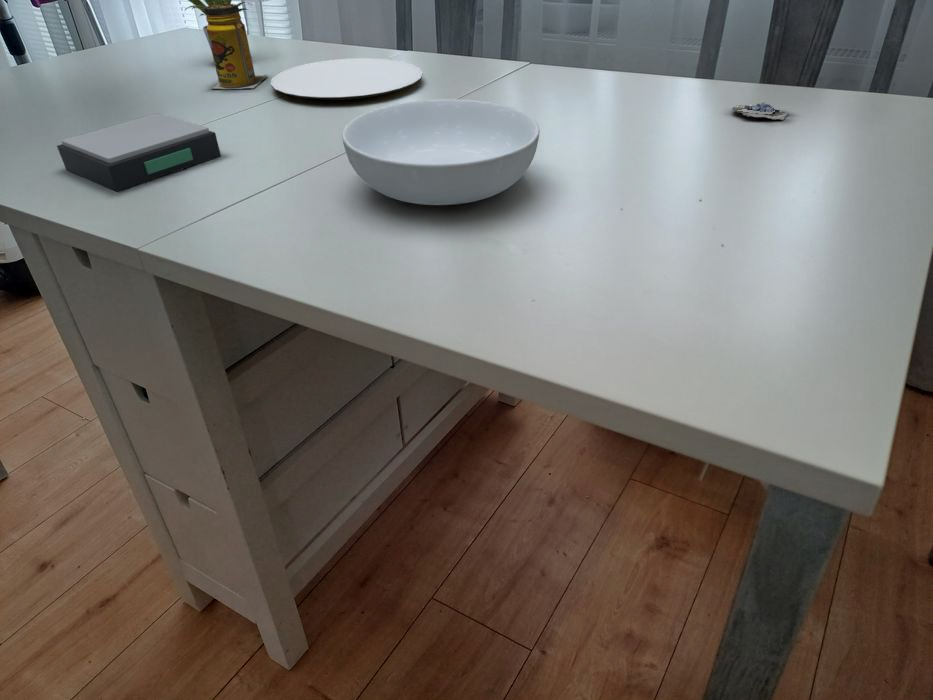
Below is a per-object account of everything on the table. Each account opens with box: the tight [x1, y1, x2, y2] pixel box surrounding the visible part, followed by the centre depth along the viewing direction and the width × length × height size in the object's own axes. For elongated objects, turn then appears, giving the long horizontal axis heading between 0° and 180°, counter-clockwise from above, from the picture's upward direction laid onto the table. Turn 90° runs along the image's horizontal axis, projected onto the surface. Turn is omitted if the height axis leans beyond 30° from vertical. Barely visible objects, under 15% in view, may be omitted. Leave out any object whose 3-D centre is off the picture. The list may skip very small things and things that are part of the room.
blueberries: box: [731, 101, 789, 121], centre depth 92 cm, size 7×8×2 cm
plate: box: [270, 57, 424, 101], centre depth 110 cm, size 25×25×2 cm
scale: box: [56, 112, 222, 192], centre depth 81 cm, size 14×12×4 cm
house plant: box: [184, 0, 251, 52], centre depth 122 cm, size 14×14×16 cm
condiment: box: [205, 3, 269, 90], centre depth 110 cm, size 7×8×12 cm
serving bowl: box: [341, 98, 541, 206], centre depth 72 cm, size 21×21×7 cm
